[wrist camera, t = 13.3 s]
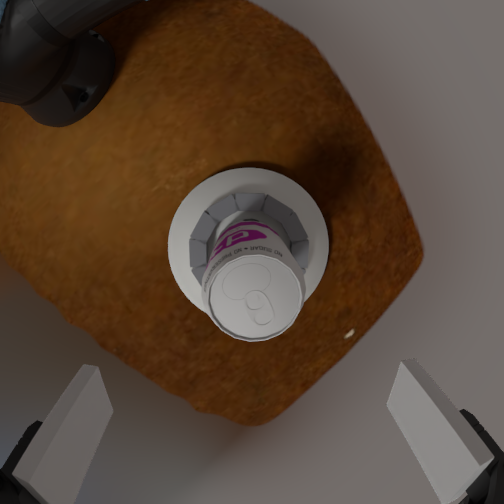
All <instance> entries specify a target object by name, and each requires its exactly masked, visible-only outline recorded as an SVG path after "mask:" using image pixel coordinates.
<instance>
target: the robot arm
mask: <svg viewBox="0 0 504 504" xmlns="http://www.w3.org/2000/svg"><path fill="white" fill-rule="evenodd" d="M143 1H145V2H146V1H148V0H0V101H1V102H6V103H11V104H15V105H19V106H21V107H22V108H23V109H24V110H25V111H26V112H27V113H28V114H29V115H30V116H31V117H32V118H33V119H34V120H35V121H37V122H38V123H40V124H43V125H47V126H52V127H64V126H68V125H71V124H73V123H75V122H77V121H79V120H80V119H82V118H83V117H84V116H86V115H87V114H88V113H89V112H90V111H91V110H92V109H93V108H94V107H95V106H96V105H97V104H98V103H99V101H100V100H101V99H102V97H103V96H104V94H105V92H106V91H107V89H108V87H109V84H110V82H111V79H112V76H113V73H114V68H115V55H114V51H113V48H112V46H111V44H110V43H109V42H108V41H107V40H106V39H105V38H104V37H103V36H102V35H101V34H99V33H98V32H96V31H93V30H91V29H92V28H94V27H96V26H97V25H99V24H101V23H102V22H104V21H106V20H108V19H109V18H111V17H113V16H115V15H117V14H119V13H121V12H122V11H124V10H126V9H128V8H130V7H132V6H134V5H136V4H139V3H141V2H143ZM386 405H387V407H388V409H389V411H390V412H391V414H392V415H393V417H394V419H395V421H396V422H397V424H398V426H399V428H400V429H401V431H402V433H403V435H404V436H405V438H406V440H407V442H408V443H409V445H410V447H411V449H412V451H413V452H414V454H415V456H416V458H417V459H418V461H419V463H420V465H421V467H422V468H423V470H424V472H425V474H426V476H427V478H428V479H429V481H430V483H431V485H432V487H433V489H434V491H435V493H436V494H437V496H438V498H439V500H440V502H441V504H448V503H450V502H452V501H454V500H456V499H458V498H459V497H460V496H461V495H462V494H463V493H464V492H465V491H466V492H467V494H468V495H467V496H466V497H465V498H464V499H463V500H462V501H461V502H460V503H459V504H504V452H503V451H502V450H501V449H500V448H499V446H498V445H497V444H496V442H495V441H494V440H493V439H492V437H491V436H490V435H489V434H488V432H487V431H486V430H484V427H483V426H482V425H481V424H479V421H478V420H477V419H476V418H475V416H474V415H473V414H471V413H469V412H468V411H466V410H465V409H462V410H460V411H459V410H458V409H457V408H456V407H455V406H454V405H453V403H452V402H451V401H450V399H449V398H448V397H447V396H446V395H445V393H444V392H443V391H442V390H441V389H440V387H439V386H438V385H437V384H436V383H435V382H434V380H433V379H432V378H431V377H430V376H429V374H428V373H427V372H426V371H425V370H424V369H423V367H422V366H421V365H420V364H419V363H418V362H417V361H416V359H414V358H413V359H408V360H403V361H401V363H400V366H399V369H398V372H397V376H396V379H395V382H394V385H393V388H392V391H391V394H390V396H389V399H388V402H387V404H386ZM112 413H113V408H112V406H111V403H110V400H109V398H108V395H107V392H106V389H105V386H104V384H103V380H102V377H101V374H100V371H99V368H98V366H92V365H85V364H84V365H83V366H82V367H81V369H80V370H79V371H78V373H77V374H76V375H75V377H74V378H73V380H72V381H71V383H70V384H69V385H68V387H67V388H66V390H65V391H64V392H63V394H62V395H61V397H60V398H59V400H58V401H57V403H56V404H55V406H54V407H53V409H52V410H51V412H50V413H49V415H48V416H47V418H46V419H45V421H44V422H40V421H36V422H34V423H33V424H32V425H31V426H29V427H28V428H27V430H26V431H25V433H24V434H23V437H22V438H21V439H20V440H19V442H18V445H16V446H15V448H14V449H13V451H12V453H11V454H10V456H9V457H8V459H7V461H6V462H5V464H4V465H3V467H2V468H1V469H0V504H74V503H75V500H76V497H77V495H78V492H79V490H80V487H81V485H82V482H83V480H84V477H85V475H86V473H87V470H88V468H89V465H90V463H91V461H92V458H93V456H94V454H95V451H96V449H97V447H98V444H99V442H100V440H101V438H102V435H103V433H104V431H105V429H106V427H107V424H108V422H109V420H110V418H111V416H112Z"/></svg>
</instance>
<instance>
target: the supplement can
mask: <svg viewBox="0 0 504 504" xmlns="http://www.w3.org/2000/svg"><path fill="white" fill-rule="evenodd" d="M305 293H306V285H305V280H304V274H303V271H302V270H301V268H300V266H299V265H298V263H297V262H296V260H295V259H294V257H293V256H292V254H291V253H290V251H289V250H288V248H287V247H286V245H285V244H284V242H283V241H282V239H281V238H280V236H279V235H278V234H277V232H276V231H275V229H274V228H272V227H271V226H270V225H268V224H267V223H266V222H263V221H260V220H256V219H240V220H238V221H236V222H233V223H231V224H229V225H228V226H227V227H226V228H225V229H224V230H223V231H222V232H221V233H220V235H219V237H218V239H217V241H216V243H215V246H214V249H213V251H212V254H211V257H210V259H209V262H208V265H207V267H206V270H205V273H204V276H203V278H202V290H201V298H202V301H203V304H204V307H205V310H206V313H207V314H208V315H209V316H210V318H211V319H212V320H213V321H214V323H215V324H216V325H217V326H218V327H219V328H220V329H221V330H222V331H224V332H225V333H227V334H229V335H230V336H232V337H233V338H236V339H241V340H245V341H249V342H251V341H264V340H267V339H270V338H273V337H275V336H278V335H280V334H281V333H282V332H284V331H285V330H286V329H287V328H288V327H290V326H291V325H292V323H293V322H294V320H295V318H296V317H297V315H298V313H299V312H300V310H301V308H302V306H303V303H304V298H305Z"/></svg>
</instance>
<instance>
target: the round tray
mask: <svg viewBox="0 0 504 504" xmlns="http://www.w3.org/2000/svg"><path fill="white" fill-rule="evenodd" d="M240 219H256V220H260V221H263V222H266V223H267V224H268V225H270V226H271V227H272V228H274V229H275V231H276V232H277V234H278V235H279V236H280V238H281V239H282V241H283V242H284V244H285V245H286V247H287V248H288V250H289V251H290V253H291V254H292V256H293V257H294V259H295V260H296V262H297V263H298V265H299V266H300V268H301V270H302V271H303V274H304V280H305V285H306V293H305V298H304V302H305V301H306V300H307V299H308V298H309V296H310V295H311V294H312V293H313V291H314V290H315V289H316V287H317V285H318V284H319V282H320V280H321V278H322V275H323V273H324V271H325V267H326V263H327V258H328V251H329V240H328V232H327V228H326V224H325V221H324V218H323V216H322V213H321V211H320V209H319V208H318V206H317V204H316V203H315V201H314V200H313V199H312V197H311V196H310V195H309V194H308V193H307V192H306V191H305V190H304V189H303V188H302V187H301V186H300V185H298V184H297V183H296V182H294V181H293V180H291V179H289V178H287V177H286V176H284V175H282V174H279V173H276V172H274V171H270V170H266V169H261V168H237V169H232V170H227V171H224V172H221V173H218V174H216V175H214V176H212V177H210V178H208V179H206V180H205V181H203V182H202V183H200V184H199V185H198V186H197V187H195V188H194V189H193V190H192V191H191V192H190V193H189V194H188V195H187V197H186V198H185V199H184V200H183V202H182V203H181V205H180V206H179V208H178V209H177V211H176V214H175V216H174V218H173V221H172V224H171V227H170V232H169V238H168V254H169V262H170V266H171V269H172V272H173V275H174V277H175V280H176V281H177V283H178V285H179V287H180V289H181V290H182V291H183V293H184V294H185V295H186V296H187V298H188V299H189V300H190V301H191V302H192V303H193V304H195V305H196V306H197V307H198V308H200V309H201V310H202V311H204V312H206V310H205V307H204V304H203V301H202V298H201V290H202V278H203V276H204V273H205V270H206V267H207V265H208V262H209V259H210V257H211V254H212V251H213V249H214V246H215V243H216V241H217V239H218V237H219V235H220V233H221V232H222V231H223V230H224V229H225V228H226V227H227V226H228V225H229V224H231V223H233V222H236V221H238V220H240Z"/></svg>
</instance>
